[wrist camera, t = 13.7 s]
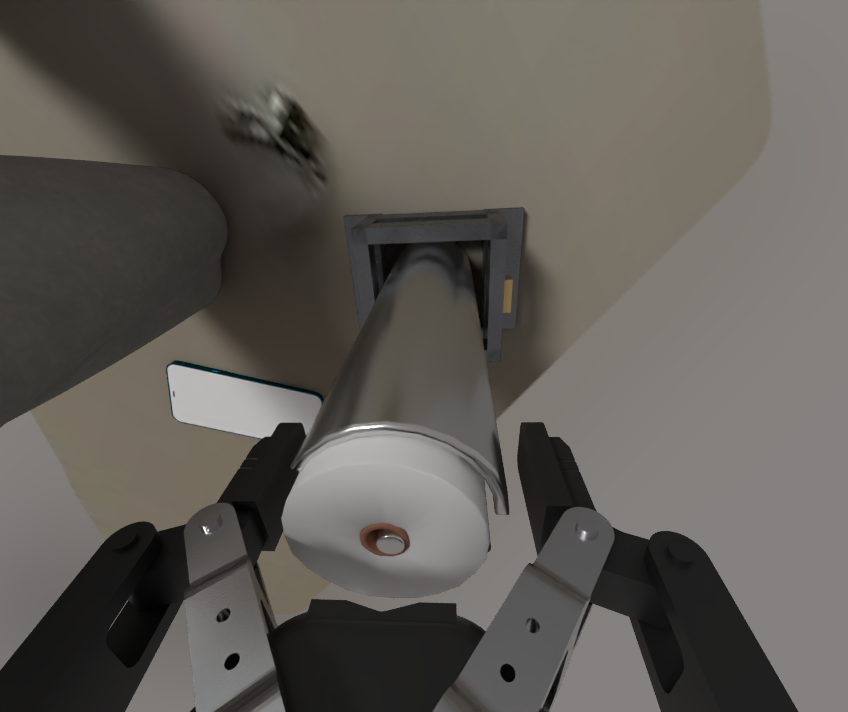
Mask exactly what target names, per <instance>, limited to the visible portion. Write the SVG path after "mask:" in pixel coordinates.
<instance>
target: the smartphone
mask: <svg viewBox="0 0 848 712" xmlns="http://www.w3.org/2000/svg"><path fill="white" fill-rule="evenodd" d="M166 372H167V380H168V387H169V395H170V403H171V410H172V415H173V417H174V418H175V419H176V420H177V421H179V422H182V423H186V424H191V425H196V426H200V427H205V428H210V429H215V430H219V431H224V432H229V433H234V434H239V435H243V436H248V437H253V438H258V439H263V438H264V437H271V435H272V434H273V432H274V430H275V429H276V427H277V426H278V424H279V423H302V424H303V427H304V430H305V434H306V435H307V433H308V431H309V429H310V427H311V425H312V423H313V421H314V419H315V417H316V416H317V414H318V412H319V410H320V408H321V406H322V404H323V402H324V399H323V397H322V396H321V395H320V394H319V393H316V392H313V391H309V390H304V389H300V388H296V387H291V386H287V385H283V384H278V383H274V382H270V381H265V380H261V379H257V378H252V377H248V376H244V375H239V374H235V373H231V372H227V371H223V370H218V369H213V368H209V367H204V366H200V365H196V364H191V363H187V362H183V361H177V360H176V361H173V362H172V363H170V364H169V365H168V366H167V368H166Z"/></svg>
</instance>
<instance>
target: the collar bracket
mask: <svg viewBox="0 0 848 712" xmlns="http://www.w3.org/2000/svg"><path fill="white" fill-rule="evenodd" d="M523 218H524V208H523V207H520V208H498V209H484V210H474V211H452V212H431V213H409V214H387V215H382V214H367V215H346V216H344V223H345V230H346V237H347V244H348V251H349V257H350V264H351V271H352V278H353V285H354V291H355V298H356V305H357V312H358V318H359V325H360V330H361V328H362V326H363V324H364V322H365V320H366V318H367V317H368V315H369V313H370V311H371V309H372V307H373V305H374V303H375V301H376V299H377V297H378V295H379V293H380V291H381V289H382V287H383V285H384V284H385V282H386V280H387V278H388V277H387V267H386V257H385V247H384V244H393V243H418V242H444V241H469V240H483V278H482V316H481V319H479V320H480V326H481V332H482V339H483V345H484V351H485V357H486V362H500V357H501V339H502V329H515V328H516V314H517V300H518V287H519V273H520V259H521V246H522V232H523Z"/></svg>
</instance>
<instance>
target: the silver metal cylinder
mask: <svg viewBox="0 0 848 712" xmlns="http://www.w3.org/2000/svg"><path fill="white" fill-rule="evenodd" d="M291 468H292V469H294V470H296V471H299V474H298V477H297V479H296V481H295V483H294V485H293V487H292V489H291V491H290V493H289V495H288V498H287V500H286V503H285V506H284V510H283V514H282V518H281V519H282V525H283V530H284V535H285V537H286V540H287V542H288V544H289V546H290V549H291V551H292V553H293V554H294V555H295V556H296V557H297V558H298V559H299V560H300V561H301V562H302V563H303V564H304V565H305V566H306V567H307V568H308V569H310V570H312V571H313V572H315V573H316V574H318V575H320V576H321V577H323V578H324V579H326V580H328V581H330V582H332V583H334V584H336V585H338V586H340V587H342V588H344V589H346V590H349V591H353V592H357V593H360V594H364V595H368V596H376V597H388V598H419V597H424V596H429V595H434V594H439V593H441V592H444V591H447V590H450V589H453V588H455V587H458V586H460V585H461V584H462V583H463V582H465V581H466V580H467V579H468V578H470V577H471V576H472V575H473V574H475V572H476V571H477V570H478V569H479V567H480V566H481V565H482V564H483V562H484V561H485V560H486V556H487V553H488V552H489V551H490V549H491V544H490V533H489V523H488V513H487V502H486V493H485V483H484V478H485V480H486V482H487V484H488V486H489V488H490V489H491V492H492V494H493V501H494V509H495V513H496V514H498V515H509V504H508V492H507V486H506V480H505V474H504V467H503V462H502V455H501V449H500V443H499V437H498V431H497V424H496V418H495V412H494V406H493V400H492V394H491V388H490V382H489V375H488V369H487V363H486V357H485V351H484V345H483V339H482V332H481V326H480V320H479V314H478V308H477V302H476V296H475V290H474V283H473V277H472V271H471V265H470V262H469V259H468V257H467V254H466V253H465V252H464V251H463V249H462V248H461V247H460V246H459V245H458V244H457V243H455V242H454V241H444V242H418V243H409V244H408V245H407V246H406V247H405V248H404V249H403V250H402V252H401V253H400V255H399V256H398V258H397V260H396V262H395V264H394V266H393V268H392V270H391V272H390V274H389V276H388V278H387V280H386V282H385V284H384V285H383V287H382V289H381V291H380V293H379V295H378V297H377V299H376V301H375V303H374V305H373V307H372V309H371V311H370V313H369V315H368V317H367V318H366V320H365V322H364V324H363V326H362V328H361V330H360V332H359V334H358V336H357V338H356V340H355V342H354V344H353V346H352V348H351V350H350V351H349V353H348V355H347V357H346V359H345V361H344V363H343V365H342V367H341V369H340V371H339V373H338V375H337V377H336V379H335V381H334V383H333V384H332V386H331V388H330V390H329V392H328V394H327V396H326V398H325V400H324V402H323V404H322V406H321V408H320V410H319V412H318V414H317V416H316V417H315V419H314V421H313V423H312V425H311V427H310V429H309V431H308V433H307V435H306V437H305V439H304V441H303V443H302V445H301V447H300V449H299V450H298V452H297V454H296V456H295V458H294V460H293V462H292V464H291Z"/></svg>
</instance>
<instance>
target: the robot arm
mask: <svg viewBox="0 0 848 712" xmlns="http://www.w3.org/2000/svg"><path fill="white" fill-rule="evenodd" d="M305 437H306V434H305V430H304V427H303V424H302V423H279V424H278V426H277V427H276V429H275V430H274V432H273V434H272V435H271V437H264V438H263V439H262V440H260V441H259V442H258V443H257V444H256V445H254V446H253V448H252V449H251V451H250V452H249V454H248V455H247V457H246V460H244V462H243V463H242V465H241V466H240V469H238V471H237V472H236V474H235V475H234V477H233V479H232V480H231V482H230V483H229V485H228V486H227V488H226V489H225V491H224V492H223V494H222V495H221V497H220V499H219V500H218V502H217V503H215V504H212V505H209V506H207V507H205V508H203V509H201V510H200V511H198V512H197V513H196V514H195V515H193V516H192V517H191V519H190V520H189V521H188V523H187V524H185V525H182V526H178V527H174V528H170V529H166V530H162V531H159V532H157V530H156V529H155V527H154V525H153V524H151V523H149V522H137V523H133V524H130V525H127V526H125V527H123V528H121V529H120V530H118V531H117V532H115V533H114V534H112V535H111V536H110V537H109V538H108V539H107V540H106V541H105V542H104V543H103V544H102V545H101V546H100V548H99V549H98V550H97V552H96V553H95V554H94V555H93V556H92V558H91V559H90V560H89V561H88V563H87V564H86V565H85V567H84V568H83V569H82V570H81V571H80V572H79V574H78V575H77V576H76V578H75V579H74V580H73V581H72V582H71V584H70V585H69V586H68V587H67V589H66V590H65V591H64V592H63V593H62V595H61V596H60V597H59V599H58V600H57V601H56V602H55V603H54V605H53V606H52V607H51V608H50V610H49V611H48V612H47V613H46V615H45V616H44V617H43V618H42V619H41V621H40V622H39V623H38V624H37V626H36V627H35V628H34V629H33V631H32V632H31V633H30V634H29V636H28V637H27V638H26V639H25V641H24V642H23V643H22V644H21V646H20V647H19V648H18V649H17V650H16V652H15V653H14V654H13V655H12V657H11V658H10V659H9V660H8V662H7V663H6V664H5V665H4V667H3V668H2V669H1V670H0V712H125V710H126V709H127V707H128V705H129V703H130V701H131V699H132V697H133V695H134V693H135V691H136V690H137V688H138V686H139V684H140V682H141V680H142V678H143V676H144V674H145V673H146V671H147V669H148V667H149V665H150V663H151V661H152V659H153V657H154V655H155V653H156V652H157V650H158V648H159V646H160V644H161V642H162V640H163V638H164V636H165V635H166V633H167V631H168V629H169V627H170V625H171V623H172V621H173V619H174V617H175V616H176V614H177V612H178V610H179V608H180V606H181V604H182V602H183V600H185V608H186V619H187V628H188V638H189V648H190V657H191V667H192V677H193V687H194V697H195V707H194V708H193V709H192V710H191V711H190V712H550V710H551V708H552V705H553V703H554V701H555V698H556V696H557V693H558V691H559V688H560V686H561V683H562V681H563V678H564V676H565V673H566V670H567V668H568V665H569V662H570V659H571V657H572V654H573V652H574V650H575V647H576V645H577V642H578V640H579V638H580V635H581V633H582V630H583V628H584V626H585V623H586V621H587V618H588V616H589V613H590V611H591V609H592V606H593V604H596V605H599V606H601V607H604V608H607V609H610V610H612V611H615V612H618V613H620V614H623V615H626V616H629V617H630V620H631V623H632V626H633V629H634V632H635V635H636V638H637V641H638V644H639V647H640V650H641V653H642V656H643V659H644V662H645V665H646V668H647V671H648V674H649V677H650V680H651V683H652V686H653V689H654V692H655V695H656V698H657V701H658V704H659V707H660V710H661V712H798V710H797V708H796V707H795V705H794V703H793V702H792V700H791V698H790V696H789V695H788V693H787V691H786V690H785V688H784V686H783V684H782V683H781V681H780V679H779V677H778V676H777V674H776V673H775V671H774V669H773V667H772V665H771V664H770V662H769V660H768V659H767V657H766V655H765V653H764V652H763V650H762V648H761V646H760V645H759V643H758V641H757V640H756V638H755V636H754V634H753V633H752V631H751V629H750V627H749V626H748V624H747V622H746V620H745V619H744V617H743V616H742V614H741V612H740V610H739V608H738V607H737V605H736V604H735V601H734V600H733V598H732V596H731V595H730V593H729V591H728V589H727V588H726V586H725V584H724V583H723V581H722V579H721V577H720V576H719V574H718V572H717V570H716V569H715V567H714V565H713V564H712V562H711V560H710V558H709V557H708V555H707V554H706V552H705V551H704V550H703V549H702V548H701V547H700V546H699V545H698V544H697V543H695V542H694V541H692V540H691V539H689V538H688V537H686V536H684V535H681V534H679V533H675V532H670V531H661V532H657V533H655V534H653V535H652V536H651V538H650V540H648V539H644V538H641V537H638V536H634V535H631V534H627V533H624V532H621V531H619V530H617V529H615V528H613V527H612V526H611V524H610V523H609V521H608V520H607V519H606V518H605V517H604V516H602V515H601V514H600V513H598V512H597V511H596V509H595V507H594V505H593V502H592V500H591V498H590V495H589V493H588V491H587V488H586V486H585V483H584V481H583V478H582V476H581V474H580V472H579V469H578V466H577V464H576V462H575V459H574V457H573V454H572V452H571V449H570V447H569V446H568V445H567V444H566V443H565V442H564V441H563V440H562V439H561V438H560V437H549V436H548V434H547V431H546V428H545V425H544V424H543V423H542V422H534V423H533V422H532V423H531V422H527V423H521V426H520V435H519V445H518V455H517V457H518V458H517V461H518V471H519V475H520V480H521V484H522V489H523V494H524V498H525V502H526V507H527V511H528V516H529V520H530V525H531V529H532V533H533V538H534V542H535V547H536V551H537V556H538V557H537V559H536V560H535V562H534V563H533V564H531V563H529V564H528V565H527V566H526V567H525V568H524V570H523V571H522V573H521V575H520V576H519V578H518V580H517V581H516V583H515V585H514V586H513V588H512V590H511V591H510V593H509V594H508V596H507V598H506V599H505V601H504V603H503V604H502V606H501V608H500V609H499V611H498V613H497V614H496V616H495V618H494V619H493V621H492V622H491V624H490V626H489V627H488V629H487V631H484V630H483V629H482V628H481V627H479V626H478V625H476V624H475V623H473V622H471V621H469V620H467V619H465V618H463V617H460V616H457V614H456V604H455V603H454V604H453V603H421V602H420V603H416V604H412V605H408V606H404V607H400V608H396V609H392V610H388V611H383V612H380V611H376V610H373V609H370V608H367V607H365V606H362V605H358V604H356V603H353V602H350V601H347V600H319V599H311V603H310V606H309V610H308V612H306V613H303V614H300V615H298V616H295V617H293V618H291V619H289V620H287V621H285V622H284V623H282V624H281V625H279V626H278V625H277V623H276V620H275V617H274V614H273V611H272V608H271V604H270V601H269V598H268V594H267V591H266V588H265V584H264V581H263V577H262V574H261V571H260V567H259V564H258V562H257V560H258V558H259V555H260V553H261V551H275V549H276V546H277V544H278V542H279V539H280V537H281V535H282V532H283V525H282V519H281V518H282V514H283V510H284V506H285V503H286V500H287V498H288V495H289V493H290V491H291V489H292V487H293V485H294V483H295V481H296V479H297V477H298V474H299V471H296V470H294V469H292V468H291V464H292V462H293V460H294V458H295V456H296V454H297V452H298V450H299V449H300V447H301V445H302V443H303V441H304V439H305ZM127 600H128V602H127V604H126V605H125V607H124V608H123V606H124V604H125V603H126V601H127ZM122 608H123V610H122V611H121V609H122ZM120 611H121V613H120V614H119V612H120ZM118 614H119V616H118V617H117V615H118ZM116 617H117V619H116V620H115V618H116ZM114 620H115V622H114V624H113V625H112V627H111V628H110V626H111V624H112V623H113V621H114ZM109 628H110V630H109Z"/></svg>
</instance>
